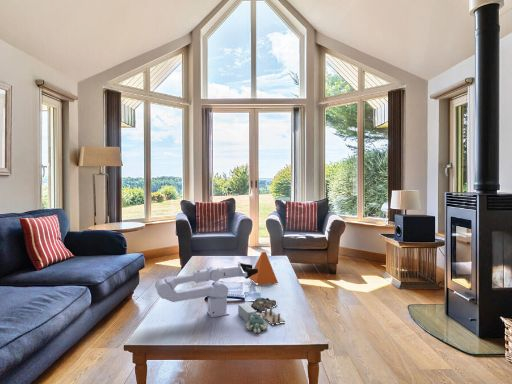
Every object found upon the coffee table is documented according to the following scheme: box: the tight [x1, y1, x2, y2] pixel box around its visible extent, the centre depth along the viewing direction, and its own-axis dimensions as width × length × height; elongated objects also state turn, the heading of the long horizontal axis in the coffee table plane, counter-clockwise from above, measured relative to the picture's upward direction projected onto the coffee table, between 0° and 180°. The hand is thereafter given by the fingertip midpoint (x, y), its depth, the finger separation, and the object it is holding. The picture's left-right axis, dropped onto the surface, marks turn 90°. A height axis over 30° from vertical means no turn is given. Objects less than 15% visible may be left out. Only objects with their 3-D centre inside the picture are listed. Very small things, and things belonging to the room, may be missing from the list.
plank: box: [237, 302, 257, 323], centre depth 164 cm, size 4×12×5 cm, turn 25°
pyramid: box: [249, 251, 279, 285], centre depth 223 cm, size 16×16×20 cm
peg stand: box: [259, 307, 286, 325], centre depth 162 cm, size 7×13×4 cm, turn 25°
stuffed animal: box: [244, 313, 269, 334], centre depth 151 cm, size 11×7×12 cm
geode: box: [250, 297, 277, 313], centre depth 179 cm, size 19×4×15 cm
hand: (254, 268), depth 175 cm, fingers open, 7 cm apart
